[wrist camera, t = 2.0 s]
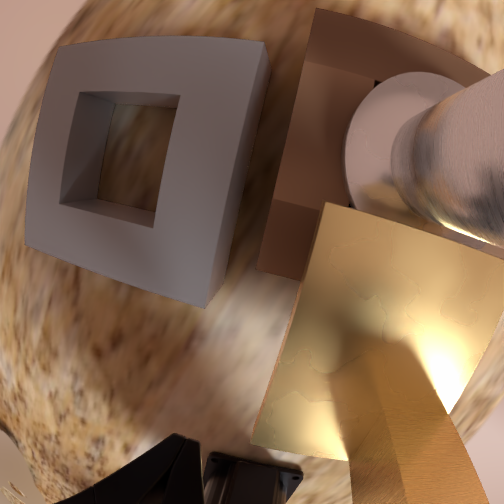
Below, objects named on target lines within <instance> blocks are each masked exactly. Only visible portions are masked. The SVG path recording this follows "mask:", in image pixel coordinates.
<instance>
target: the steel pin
mask: <svg viewBox="0 0 504 504" xmlns="http://www.w3.org/2000/svg"><path fill="white" fill-rule="evenodd" d="M341 169H342V178H343V182H344V187H345V191H346V194H347V196H348V199H349V202H350V204H351V206H352V208H354V209H357V210H361V211H364V212H368V213H371V214H374V215H378V216H381V217H384V218H387V219H391V220H394V221H397V222H400V223H403V224H407V225H410V226H413V227H416V228H419V229H422V230H425V231H428V232H431V233H434V234H437V235H440V236H443V237H445V238H448V239H451V240H454V241H457V242H459V243H462V244H465V245H468V246H470V247H473V248H476V249H478V250H480V249H481V248H482V247H484V246H485V244H486V243H490V244H493V245H495V246H498V247H500V248H503V249H504V69H503V70H500V71H498V72H496V73H494V74H492V75H490V76H489V77H487V78H485V79H483V80H481V81H479V82H477V83H475V84H473V85H471V86H469V87H467V88H465V87H463V86H462V85H460V84H459V83H457V82H455V81H453V80H451V79H449V78H446V77H444V76H441V75H437V74H433V73H427V72H409V73H404V74H399V75H396V76H394V77H391V78H389V79H387V80H385V81H384V82H382V83H380V84H379V85H378V86H376V87H375V88H374V89H373V90H372V91H371V92H370V93H369V94H368V95H367V96H366V97H365V99H364V100H363V101H362V102H361V103H360V105H359V106H358V107H357V109H356V110H355V112H354V113H353V115H352V117H351V119H350V121H349V123H348V125H347V128H346V131H345V135H344V138H343V144H342V150H341Z"/></svg>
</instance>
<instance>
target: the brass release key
mask: <svg viewBox="0 0 504 504" xmlns="http://www.w3.org/2000/svg"><path fill="white" fill-rule="evenodd" d="M503 310H504V259H502V258H499V257H497V256H494V255H492V254H489V253H486V252H484V251H481V250H478V249H476V248H473V247H470V246H468V245H465V244H462V243H459V242H457V241H454V240H451V239H448V238H445V237H443V236H440V235H437V234H434V233H431V232H428V231H425V230H422V229H419V228H416V227H413V226H410V225H407V224H403V223H400V222H397V221H394V220H391V219H387V218H384V217H381V216H378V215H374V214H371V213H368V212H364V211H361V210H357V209H354V208H350V207H347V206H343V205H340V204H336V203H332V202H329V201H325V200H323V201H322V205H321V209H320V213H319V216H318V220H317V224H316V228H315V232H314V236H313V239H312V243H311V247H310V250H309V254H308V258H307V261H306V265H305V268H304V272H303V276H302V279H301V282H300V286H299V289H298V293H297V296H296V300H295V303H294V306H293V310H292V313H291V316H290V319H289V323H288V326H287V329H286V332H285V336H284V339H283V342H282V345H281V348H280V351H279V354H278V357H277V360H276V364H275V367H274V370H273V373H272V376H271V379H270V381H269V384H268V387H267V390H266V393H265V396H264V399H263V402H262V405H261V407H260V410H259V413H258V416H257V419H256V421H255V424H254V427H253V432H252V436H251V441H250V444H252V445H256V446H260V447H265V448H270V449H274V450H279V451H285V452H290V453H296V454H302V455H308V456H315V457H322V458H330V459H338V460H348V461H349V467H350V477H351V488H352V501H353V504H489V501H488V499H487V497H486V494H485V491H484V489H483V487H482V484H481V482H480V480H479V477H478V475H477V473H476V470H475V468H474V466H473V464H472V461H471V459H470V457H469V455H468V453H467V451H466V448H465V446H464V444H463V442H462V440H461V438H460V436H459V434H458V432H457V430H456V428H455V426H454V424H453V422H452V420H451V418H450V416H449V414H448V413H449V412H450V410H451V409H452V407H453V406H454V404H455V403H456V401H457V399H458V398H459V396H460V395H461V393H462V391H463V390H464V388H465V386H466V385H467V383H468V381H469V380H470V378H471V376H472V374H473V372H474V371H475V369H476V367H477V365H478V363H479V361H480V359H481V358H482V356H483V354H484V352H485V350H486V348H487V346H488V344H489V341H490V339H491V337H492V335H493V333H494V331H495V328H496V326H497V324H498V322H499V319H500V317H501V315H502V312H503Z"/></svg>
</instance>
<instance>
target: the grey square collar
mask: <svg viewBox="0 0 504 504" xmlns="http://www.w3.org/2000/svg"><path fill="white" fill-rule="evenodd" d="M271 72H272V69H271V65H270V61H269V57H268V54H267V50H266V46H265V43H264V42H261V41H253V40H245V39H235V38H223V37H207V36H143V37H128V38H116V39H106V40H98V41H91V42H84V43H78V44H72V45H66V46H61V47H59V49H58V51H57V54H56V57H55V60H54V63H53V66H52V69H51V73H50V76H49V79H48V83H47V86H46V90H45V94H44V97H43V101H42V105H41V110H40V114H39V118H38V123H37V128H36V133H35V138H34V144H33V150H32V156H31V163H30V171H29V179H28V189H27V200H26V216H25V245H26V246H29V247H31V248H33V249H36V250H38V251H41V252H43V253H46V254H48V255H51V256H53V257H56V258H58V259H61V260H63V261H66V262H68V263H71V264H73V265H76V266H79V267H81V268H84V269H87V270H89V271H92V272H95V273H98V274H100V275H103V276H106V277H109V278H111V279H114V280H117V281H120V282H123V283H126V284H129V285H131V286H134V287H137V288H140V289H143V290H146V291H149V292H152V293H155V294H158V295H162V296H165V297H168V298H171V299H174V300H177V301H181V302H184V303H187V304H190V305H194V306H197V307H200V308H204V309H205V308H206V306H207V305H208V304H209V302H210V301H211V300H212V298H213V297H214V296H215V294H216V293H217V292H218V290H219V289H220V288H221V286H222V285H223V283H224V278H225V273H226V269H227V264H228V259H229V254H230V250H231V245H232V240H233V236H234V231H235V226H236V222H237V217H238V213H239V208H240V204H241V199H242V195H243V190H244V186H245V181H246V177H247V173H248V168H249V164H250V159H251V155H252V151H253V146H254V142H255V138H256V134H257V129H258V125H259V121H260V117H261V113H262V108H263V104H264V100H265V96H266V92H267V88H268V84H269V80H270V76H271ZM115 104H128V105H144V106H157V107H168V108H177V111H176V115H175V119H174V124H173V128H172V132H171V136H170V141H169V145H168V150H167V155H166V159H165V164H164V169H163V174H162V180H161V185H160V190H159V196H158V202H157V208H156V212H152V211H147V210H143V209H139V208H135V207H131V206H126V205H122V204H118V203H113V202H109V201H105V200H100V199H97V194H98V187H99V180H100V174H101V168H102V162H103V157H104V151H105V146H106V141H107V136H108V132H109V127H110V123H111V119H112V114H113V110H114V106H115Z"/></svg>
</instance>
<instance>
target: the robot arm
mask: <svg viewBox="0 0 504 504" xmlns="http://www.w3.org/2000/svg"><path fill="white" fill-rule="evenodd" d="M302 480H303V472H302V471H299V470H294V469H288V468H282V467H277V466H272V465H267V464H262V463H257V462H253V461H248V460H244V459H240V458H236V457H232V456H229V455H225V454H221V453H218V452H211V453H210V454H209V456H208V459H207V463H206V467H205V471H204V475H203V474H202V460H201V444H200V441H198V440H195V439H191V438H186V437H185V436H183V435H180V434H177V433H173V434H171V435H170V436H169V437H167V438H166V439H164V440H163V441H161V442H160V443H159V444H157V445H156V446H154V447H153V448H151V449H150V450H148V451H147V452H145V453H144V454H142V455H141V456H139V457H138V458H136V459H135V460H133V461H131V462H130V463H128V464H127V465H125V466H124V467H122V468H120V469H119V470H117V471H116V472H114V473H112V474H111V475H109V476H107V477H106V478H104V479H102V480H101V481H99V482H97V483H96V484H94V485H93V486H90V487H88V488H87V489H85V490H83V491H81V492H79V493H77V494H75V495H73V496H71V497H69V498H67V499H64V500H62V501H59V502H57V503H54V504H285V503H286V502H287V501H288V499H289V498H290V497H291V495H292V494H293V493H294V491H295V490H296V488H297V487H298V486H299V484H300V483H301V481H302Z"/></svg>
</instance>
